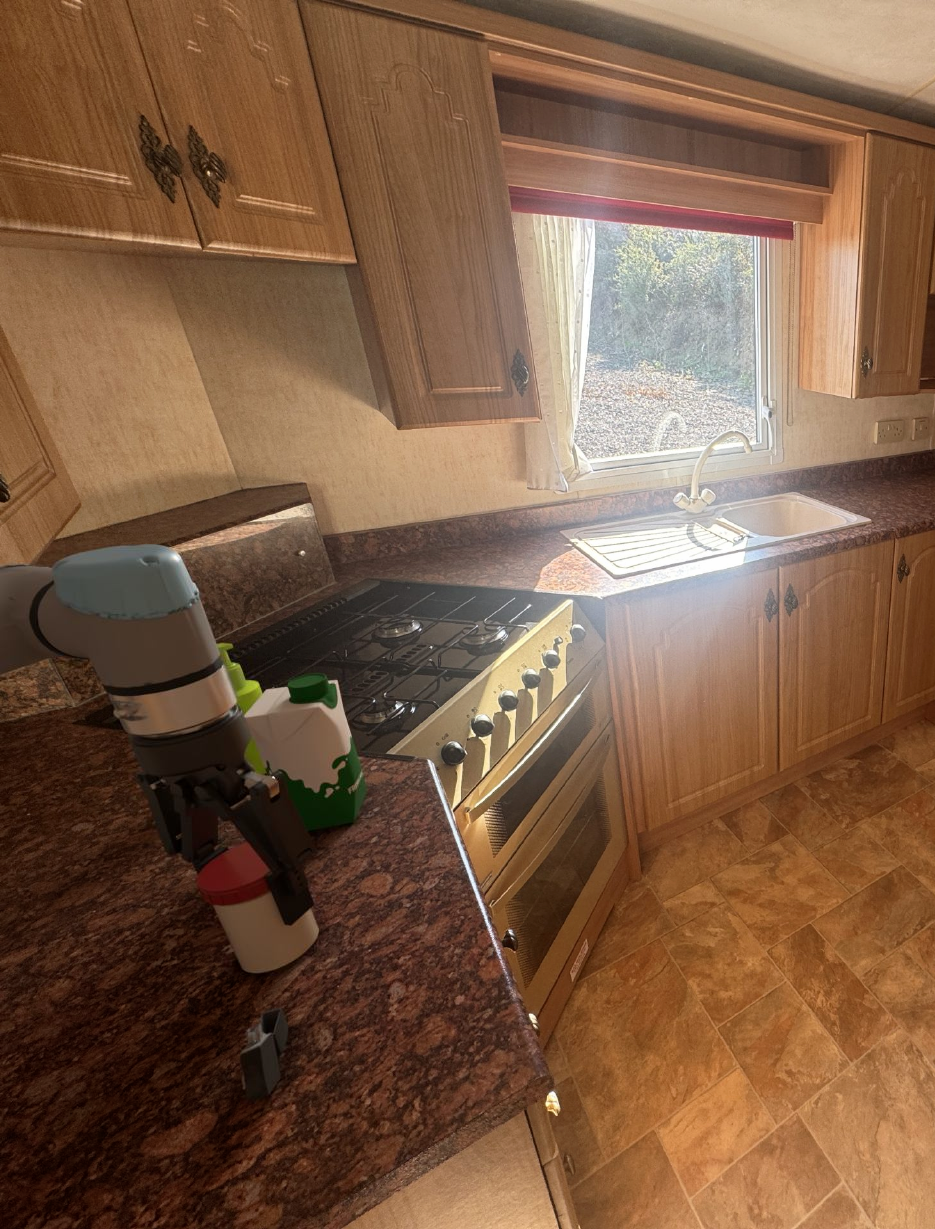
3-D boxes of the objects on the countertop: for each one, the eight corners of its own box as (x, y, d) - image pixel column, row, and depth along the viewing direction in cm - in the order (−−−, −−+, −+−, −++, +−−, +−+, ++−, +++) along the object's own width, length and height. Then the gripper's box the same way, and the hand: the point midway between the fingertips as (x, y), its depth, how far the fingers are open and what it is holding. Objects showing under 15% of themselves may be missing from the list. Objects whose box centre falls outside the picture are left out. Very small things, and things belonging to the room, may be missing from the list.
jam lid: (211, 919, 60) (204, 903, 59) (195, 880, 64) (188, 865, 63) (307, 873, 65) (301, 859, 64) (286, 840, 69) (280, 826, 69)
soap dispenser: (218, 778, 94) (167, 655, 87) (265, 752, 100) (222, 635, 93) (249, 784, 93) (200, 660, 85) (295, 757, 99) (254, 640, 92)
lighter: (266, 1070, 59) (256, 1012, 59) (294, 1058, 60) (284, 1001, 60) (237, 1108, 52) (225, 1043, 52) (269, 1094, 53) (258, 1030, 53)
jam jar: (233, 948, 68) (197, 870, 64) (309, 910, 72) (280, 835, 68) (248, 985, 64) (211, 905, 60) (327, 942, 68) (297, 865, 64)
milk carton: (360, 825, 85) (318, 693, 78) (278, 841, 82) (225, 706, 75) (376, 786, 93) (339, 662, 85) (301, 799, 90) (256, 673, 82)
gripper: (39, 730, 55) (143, 926, 64) (241, 752, 53) (320, 954, 61) (137, 688, 62) (218, 870, 71) (320, 706, 60) (381, 893, 68)
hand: (266, 909), depth 66 cm, fingers closed on jam lid, 7 cm apart
